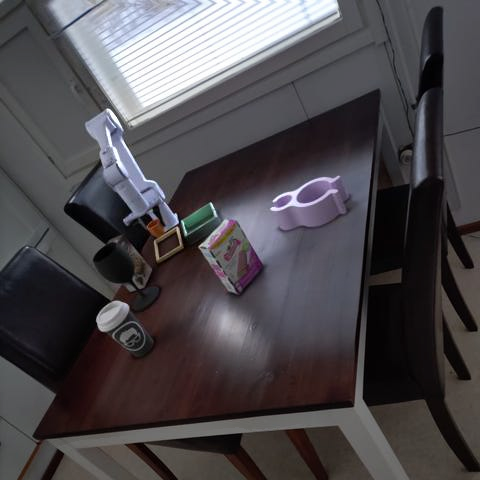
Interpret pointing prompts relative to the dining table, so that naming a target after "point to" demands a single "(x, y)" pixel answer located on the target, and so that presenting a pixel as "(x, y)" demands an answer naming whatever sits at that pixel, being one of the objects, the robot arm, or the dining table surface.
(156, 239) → the tray
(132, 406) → the dining table surface
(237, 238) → the candy bar box
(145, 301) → the wine glass
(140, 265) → the coffee box
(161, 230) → the bowl
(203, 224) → the basin
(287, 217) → the clip
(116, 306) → the coffee cup
